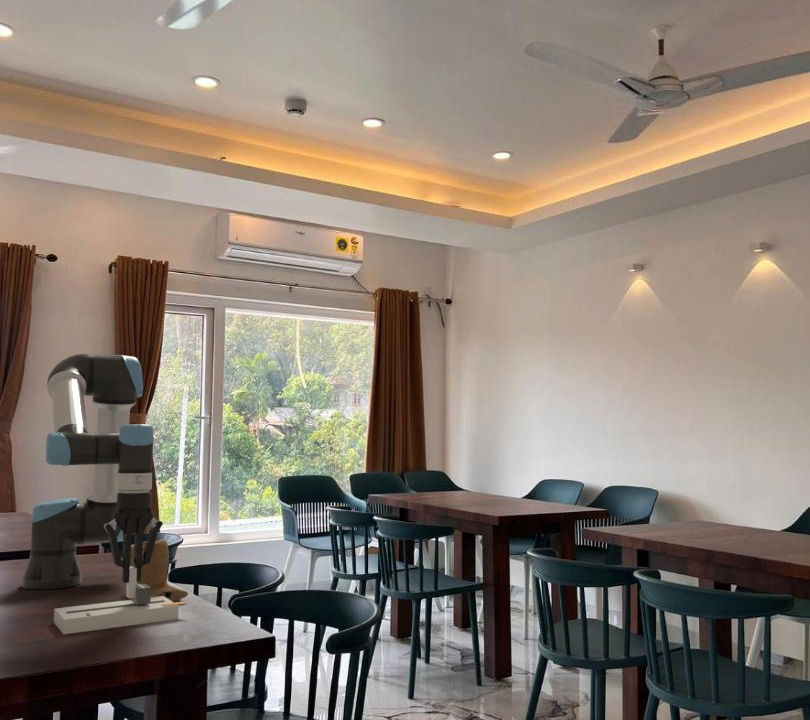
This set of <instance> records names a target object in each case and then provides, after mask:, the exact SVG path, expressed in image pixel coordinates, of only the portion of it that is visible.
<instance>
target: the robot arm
mask: <svg viewBox="0 0 810 720" xmlns="http://www.w3.org/2000/svg"><path fill="white" fill-rule="evenodd" d="M46 381H47V383H46V385H47V386H46V387H47V393H48V395H49V396H50V398H51V399H52V400H51V402H52V403H51V404H52V415H53V416H52V418H53V432H50V433H49V434H47V436H46V439H45V441H46V443H45V462H46V463H47V465H50V466H64V467H66V466H84V465H85V466H86V465H94V468H93V470H94V471H93V482H92V483H93V486H92V487H93V489H92V490H91V491H90V492H89V493H88V494H87V495H86V501H85V502H79V501H80V500H79V499H78V497H67V498H58V499H53V500H46V501H42V502H39V503H37V504H36V505H34V507H33V508H32V513H31V515H32V516H31V520H30V523H31V533H30V534H31V536H30V552H29V553H30V554H29V559H28V562H27V565H26V567H25V570H24V572H23V574H22V578H21V588H23V589H27V590H56V589H63V588H69V587H74V586H77V585H80V584H82V582H83V580H82V579H83V576H82V575H83V574H82V571H81V568H80V564H79V561H78V557H77V545H89V544H90V545H91V544H103V543H104V544H108V543H109V546H110V550H111V555H112V560H113V564H114V565H115V566H117V567H120V568H121V569H122V570H121V571H122V574H121V575H122V577H121V579H122V583H124V584H126V585H125V586H126V591H125V597H127V598H128V599H131V598H136V582H139V581H140V580H141V567H142V566H143V565H145V564H148V563H150V560H151V556H152V552H153V548H154V545H155V541H156V540H157V537H158V534H159V531H160V529H161V528H162V527H163V521H161V520H159V519H157V518H155V517H154V513H153V512H152V500H153V499H152V498H153V497H152V492H150V491H151V490H152V489H153V461H154V460H153V459H154V442H155V437H154V427H153V426H152V425H151V424H148V423H147V424H146V423H145V424H143V423H142V424H141V423H138V424H137V423H136V424H135V423H134V424H130V414H131V412H130V411H131V408H133V407H134V406H135V405H136V404H137V398H141V397H142V396H143V394H144V393H143V391H144V382H143V381H144V378H143V372H142V366H141V363H140V361H139V359H138V358H137V357H135V356H132V355H131V356H130V355H123V354H94V353H93V354H92V353H91V354H90V353H79V354H74V355H71V356H68V357H66V358H64V359H63V360H61V361H60V362H58V363H57V364H56V365H55V366H54V367H53V369H52V370H51V371H50V372H49V374H48V378H47V380H46ZM85 396H87V397H90V396H91V397H92V403H93V404H94V405H95V406H96V407H97V417H96V418H97V422H96V432H89V429H88V427H89V426H88V420H87V411H86V405H85ZM147 527H149V528H150V529H149V532H148V536H147V539H146V541H147V543H146V546H145V550H144V554H143V557H142V548H143V542H144V541H143V540H144V533H145V530H146V529H147ZM133 536H134V566H133V567H131V565H130V560H131V545H132V538H133ZM118 542H119V543H120V542H122V556H121V552H120V546H119V543H118Z"/></svg>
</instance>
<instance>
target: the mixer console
mask: <svg viewBox="0 0 810 720" xmlns="http://www.w3.org/2000/svg"><path fill="white" fill-rule="evenodd" d="M179 605H187V602H186V601H176V602H172V601H170V600H169V599H167V598H166V597H164V596H160V597H151V603H148V604H139V605H137V604H135V603H134V602H132V601H131V599H128V600H119V601H107V602H100V603H91V604H84V605H76V606H75V605H74V606H67V607H58V608H54V609H53V611H54V613H53V624H54V625H55V626H56V628H58V630H59V631H60V632H61V633H62V634H63V635H67V634H68V635H69V634H77V633H83V632H84V633H85V632H91V631H99V630H107V629H113V628H121V627H129V626H135V625H137V626H138V625H144V624H151V623H159V622H166V621H172V620H173V621H174V620H179V608H180V607H179Z"/></svg>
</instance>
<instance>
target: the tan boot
mask: <svg viewBox="0 0 810 720" xmlns="http://www.w3.org/2000/svg"><path fill="white" fill-rule="evenodd" d="M146 543H147V540H146V541H143V548H142V557H143V554H144V550H145V546H146ZM169 552H170V551H169V545H168V543H167V540H166V539H163V538H162V539H156V541H155V545H154V548H153V552H152V556H151V560H150V563H148V564H145V565H143V566H142V567H141V580H140V581H139V582H137V583H138V584H146V585H148V586H150V587H151V597H160V596H164V597H166V598H167V599H169V600H170V601H172V602H174V603H175V602H179V601H180V600H182V599H185V598H186V597H187V596H189V593H188V591H185V590H182V589H179V588H177V587H174V586H171V585H170V584H169V583H168V581H167V579H168V578H167V577H168V567H169V563H170V555H169V554H170V553H169ZM133 566H134V544H131V560H130V567H133Z"/></svg>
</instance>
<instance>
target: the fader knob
mask: <svg viewBox="0 0 810 720" xmlns="http://www.w3.org/2000/svg"><path fill="white" fill-rule="evenodd" d="M130 600H131V601H132V602H134V603H135V604H137V605H139V604H148V603H151V587H150V586H148V585H146V584H138V585H136V598H130Z"/></svg>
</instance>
